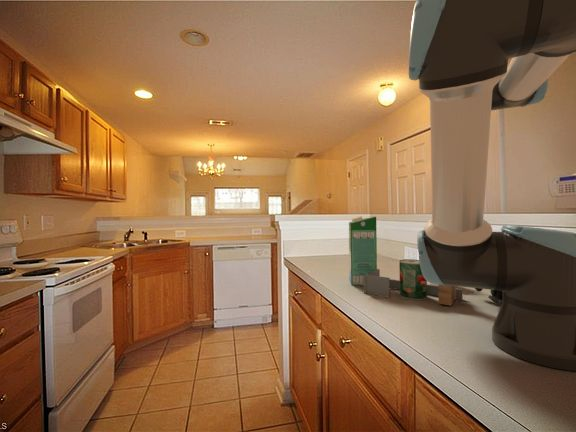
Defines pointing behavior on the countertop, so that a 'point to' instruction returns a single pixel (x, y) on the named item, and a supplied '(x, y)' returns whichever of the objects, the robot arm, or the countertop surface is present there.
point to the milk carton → (362, 248)
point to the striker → (447, 294)
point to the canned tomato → (412, 280)
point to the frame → (393, 286)
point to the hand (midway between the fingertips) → (452, 217)
